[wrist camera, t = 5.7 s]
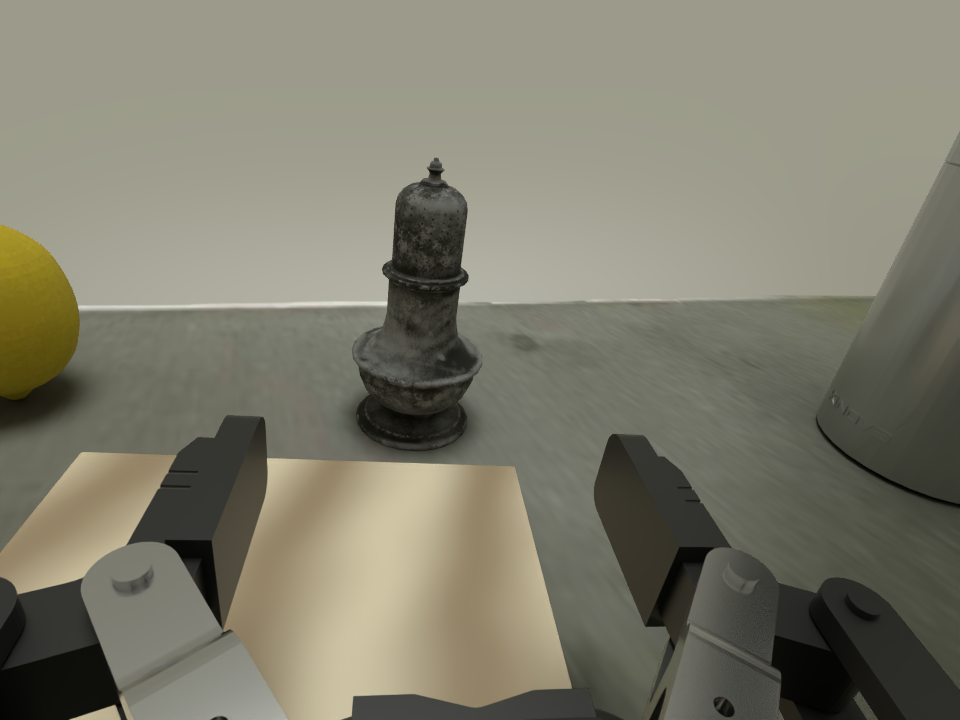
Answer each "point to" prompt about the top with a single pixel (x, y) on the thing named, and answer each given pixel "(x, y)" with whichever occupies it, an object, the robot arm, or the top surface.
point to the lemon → (33, 315)
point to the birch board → (342, 576)
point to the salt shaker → (420, 326)
